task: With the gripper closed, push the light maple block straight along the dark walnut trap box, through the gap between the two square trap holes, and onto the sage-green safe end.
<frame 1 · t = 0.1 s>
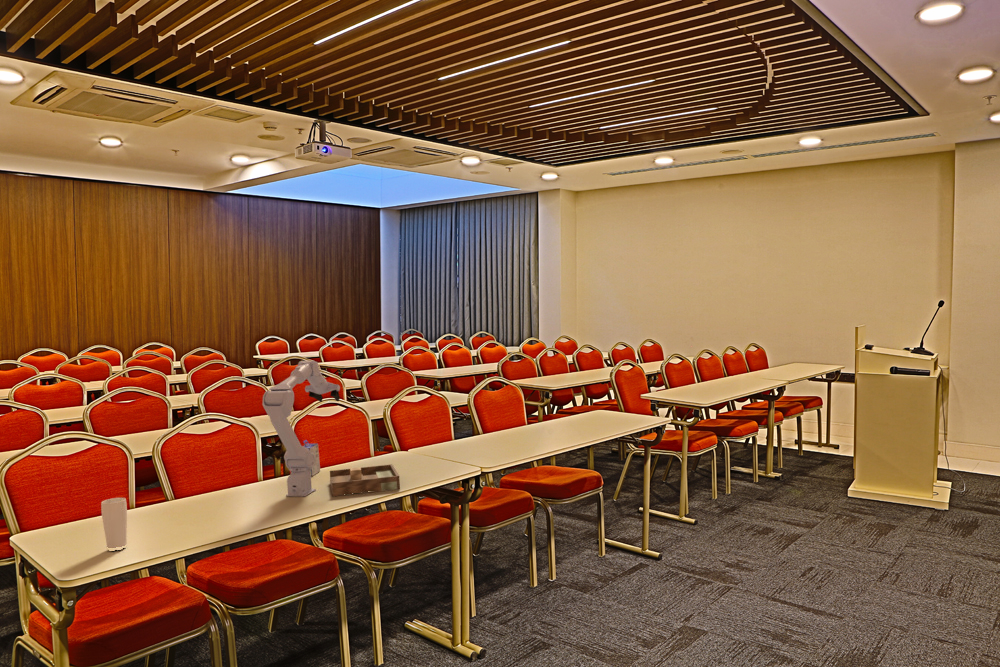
hand: (330, 399, 302), 32 cm above the table, tool tilted 50°, fingers open, 7 cm apart
drinking glass: (117, 550, 219), on the table
ink cartridge box: (310, 474, 309), on the table
trap box: (355, 486, 282), on the table
block: (356, 479, 282), point 3 cm above the table, touching trap box
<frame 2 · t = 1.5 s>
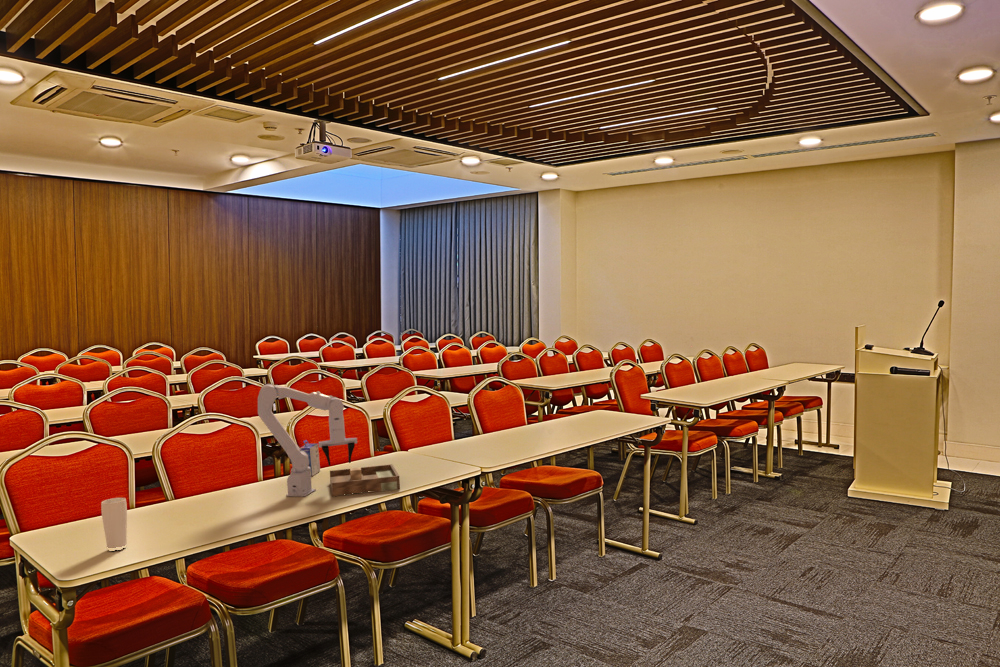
hand: (339, 463, 281), 10 cm above the table, tool pointing down, fingers open, 7 cm apart
nothing on the table moved.
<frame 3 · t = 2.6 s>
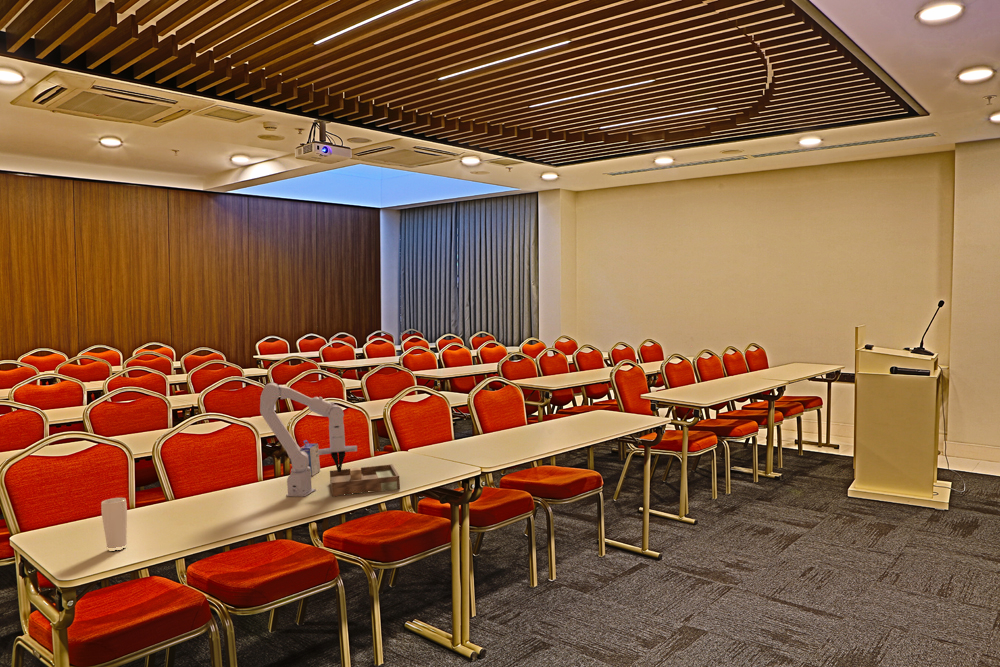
hand: (339, 471, 280), 7 cm above the table, tool pointing down, fingers closed
nothing on the table moved.
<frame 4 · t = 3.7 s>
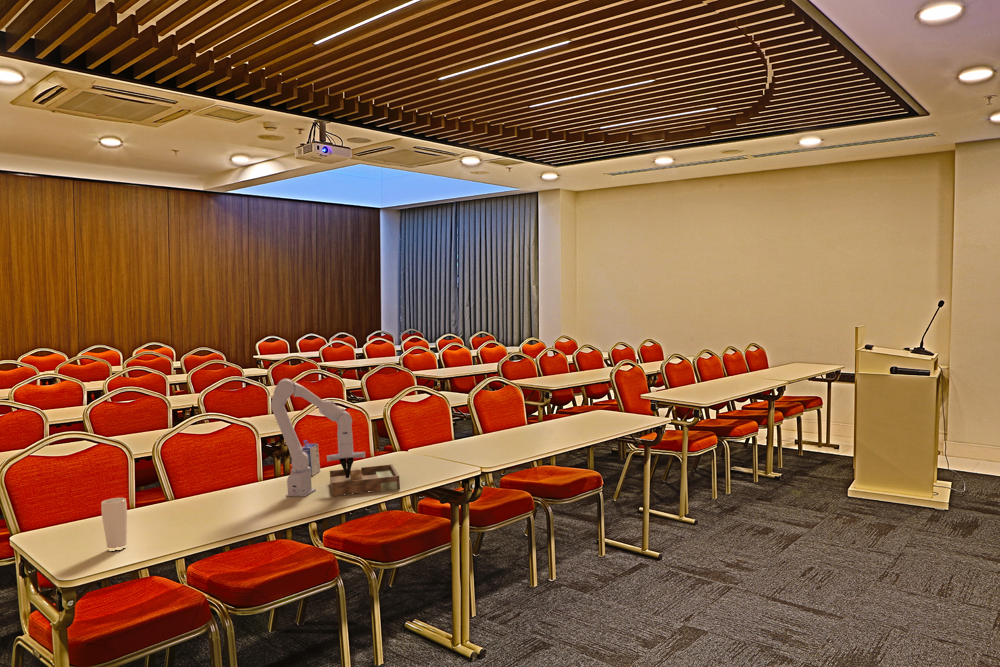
hand: (347, 477, 281), 4 cm above the table, tool pointing down, fingers closed
block: (356, 479, 282), point 3 cm above the table, touching gripper
everything else where it was.
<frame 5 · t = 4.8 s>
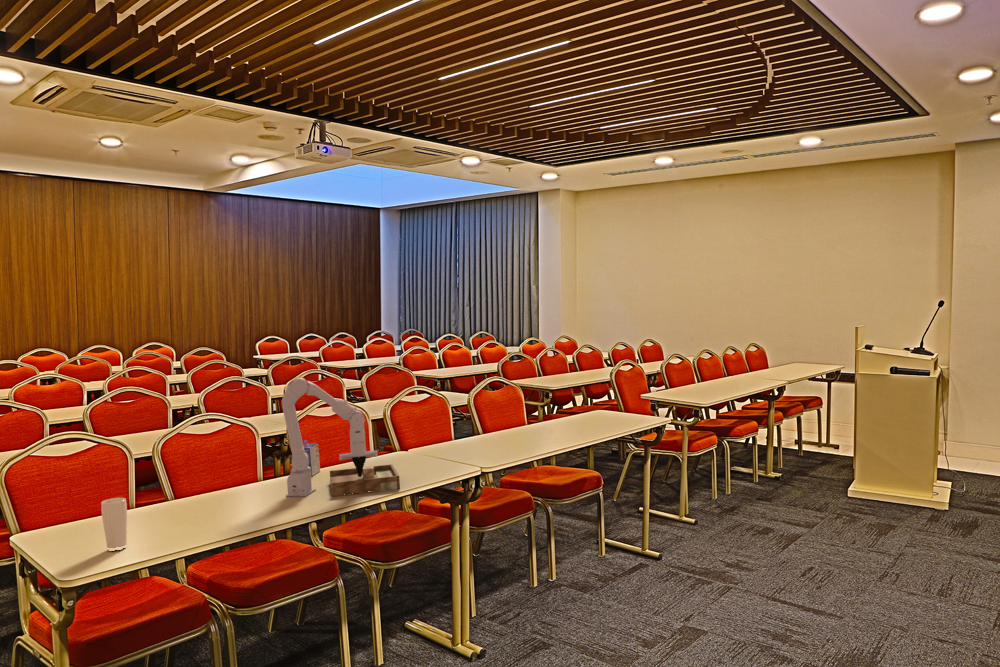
hand: (359, 476, 282), 4 cm above the table, tool pointing down, fingers closed
block: (368, 477, 283), point 3 cm above the table, touching gripper, trap box
everything else where it was.
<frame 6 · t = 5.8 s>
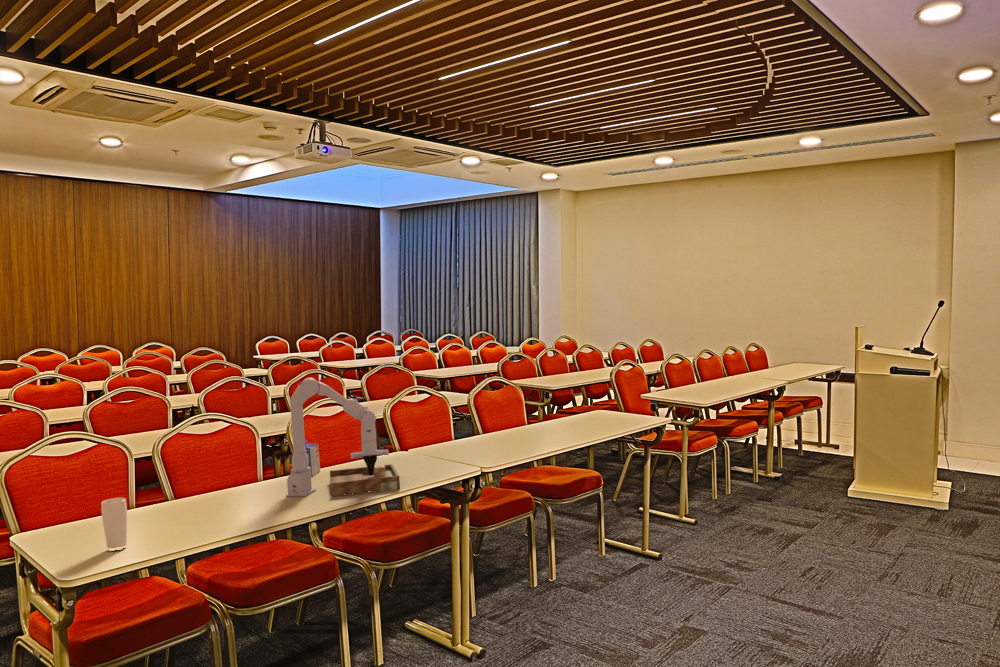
hand: (370, 474, 284), 4 cm above the table, tool pointing down, fingers closed
block: (379, 476, 284), point 3 cm above the table, touching gripper, trap box
everything else where it was.
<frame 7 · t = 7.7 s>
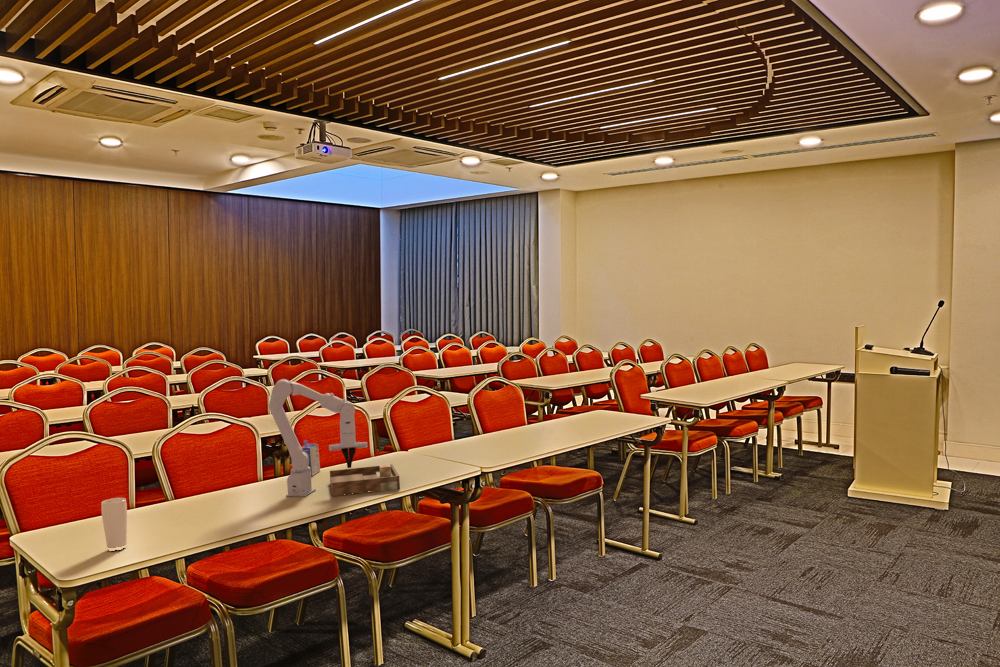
hand: (349, 467, 281), 8 cm above the table, tool pointing down, fingers closed
block: (385, 476, 285), point 3 cm above the table, touching trap box
everything else where it was.
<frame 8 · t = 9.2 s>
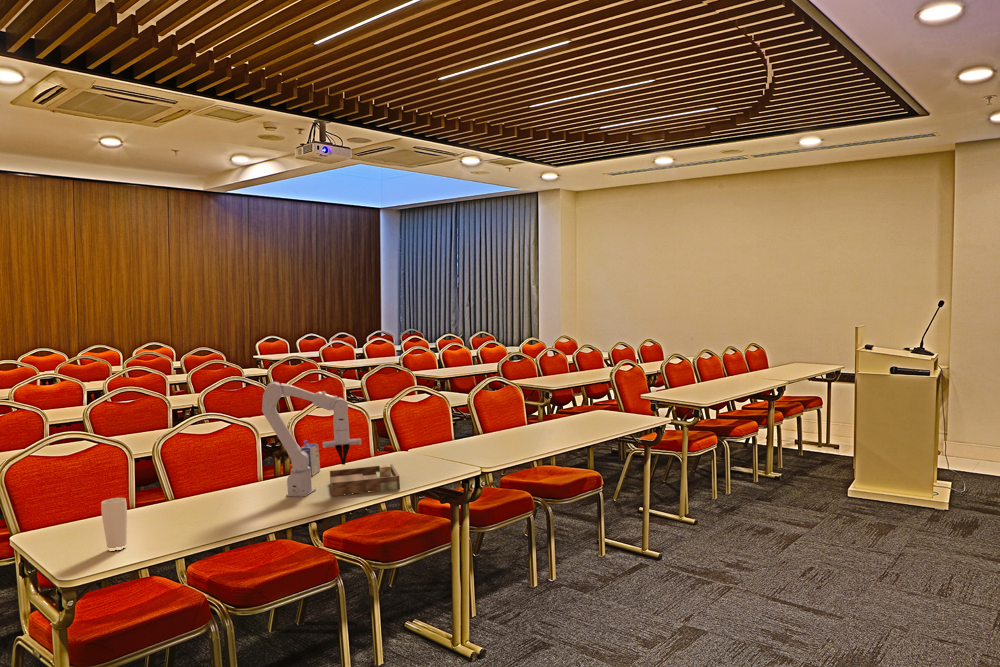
hand: (343, 464, 281), 9 cm above the table, tool pointing down, fingers closed
nothing on the table moved.
at the end: block inside the target area (0.6 cm from its centre), point 3.0 cm above the table; block touching trap box; block tilted 0° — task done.
